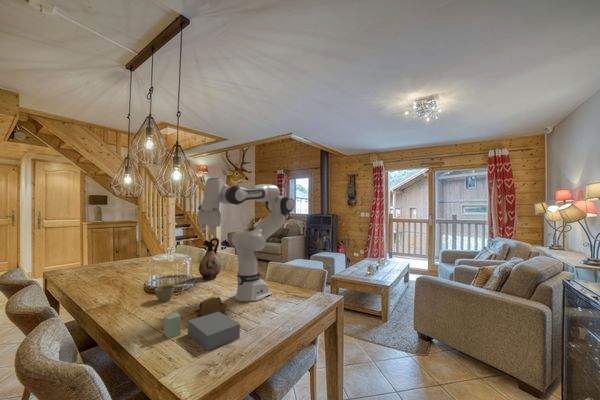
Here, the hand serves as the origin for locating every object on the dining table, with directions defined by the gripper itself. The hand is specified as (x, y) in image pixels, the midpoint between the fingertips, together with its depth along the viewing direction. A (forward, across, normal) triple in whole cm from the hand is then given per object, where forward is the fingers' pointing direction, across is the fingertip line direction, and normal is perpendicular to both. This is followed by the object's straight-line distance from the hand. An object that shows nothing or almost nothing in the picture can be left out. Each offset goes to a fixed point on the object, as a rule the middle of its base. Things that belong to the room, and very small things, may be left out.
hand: (207, 234), depth 138 cm
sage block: (+42, -16, +17) cm, 48 cm away
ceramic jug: (+37, +54, -33) cm, 73 cm away
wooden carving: (+40, -12, -2) cm, 41 cm away
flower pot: (+41, +28, +7) cm, 50 cm away
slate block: (+40, -29, +5) cm, 50 cm away
